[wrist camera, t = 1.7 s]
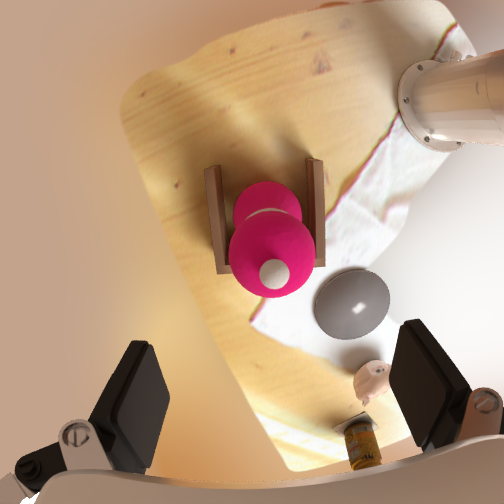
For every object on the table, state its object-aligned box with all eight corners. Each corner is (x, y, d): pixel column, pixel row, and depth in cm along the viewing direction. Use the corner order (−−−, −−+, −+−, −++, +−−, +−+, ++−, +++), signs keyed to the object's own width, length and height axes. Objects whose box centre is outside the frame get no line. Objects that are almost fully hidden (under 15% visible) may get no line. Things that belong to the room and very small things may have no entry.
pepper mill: (223, 200, 36) (185, 266, 17) (273, 165, 34) (293, 191, 15) (259, 247, 37) (259, 350, 19) (308, 214, 36) (358, 292, 17)
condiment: (348, 442, 52) (359, 486, 41) (332, 427, 50) (342, 476, 39) (379, 427, 51) (393, 471, 39) (365, 410, 48) (380, 459, 37)
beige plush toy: (364, 349, 43) (379, 383, 35) (394, 356, 44) (411, 389, 36) (343, 378, 45) (354, 413, 38) (373, 384, 46) (386, 417, 38)
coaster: (341, 256, 38) (342, 258, 37) (402, 287, 39) (403, 289, 39) (300, 323, 41) (301, 325, 41) (361, 345, 43) (362, 347, 42)
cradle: (314, 158, 34) (322, 160, 29) (317, 250, 37) (325, 266, 33) (211, 166, 34) (203, 169, 29) (222, 257, 38) (217, 274, 33)
